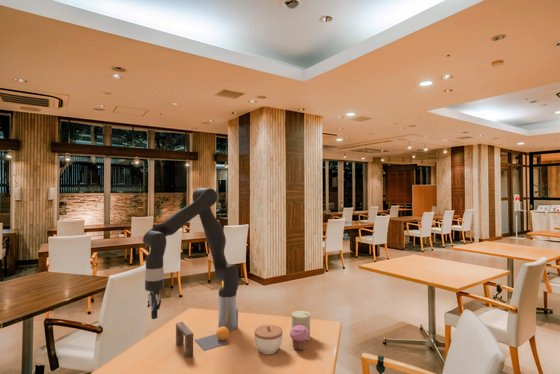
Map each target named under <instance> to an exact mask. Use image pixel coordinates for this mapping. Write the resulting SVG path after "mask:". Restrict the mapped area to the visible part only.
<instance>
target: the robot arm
mask: <svg viewBox="0 0 560 374" xmlns="http://www.w3.org/2000/svg"><path fill="white" fill-rule="evenodd" d="M217 201H218V193H217V191H216V190H215V189H213V188H211V187H199V188H196V189H194V191H193V193H192V203H190V204H189V205H187V206H185V207H183V208H181V209H179V210H178V211H176V212H174V213H173V214H172V215H170V216H169V217H168V218H166V219H165V220H164V221H163V222H161V223H160V224H157V225H155V226H154V227H152V228H150V229H149V230H148V231H146V233H145V234H144V235H143V237H142V242H143V244H144V245H145V246H146V247H149V249H150V251H149V253H148V254H147V255H146V256H145V270H144V271H145V272H144V290H145V291H147V292H149V293H147V297H148V302H149V303H148V304H149V307H150V311H151V312H150V314H151V315H150V317H151V319H152V320H156V319H158V310H160V308H161V307H160V306H161V305H162V300H161V299H160V298H161V293H160V291H162V290H163V289H164V287H165V284H164V283H165V282H164V281H165V279H164V278H165V273H164V272H165V270H164V256H165V252H166V247H167V238H166V237H168V236H172V235H174V234H176V232H178V231H179V230H180V229H181V228H182V227H184V226H185V225H187V223H188V222H190V221H191V220H193V219H194V218H195V217H197V216H198V215H199V219H200V222H201V225H202V228H203V231H204V235H205V238H206V242H207V245H208V247H209V250H210V254H211V258H212V262H213V267H214V268H213V269H214V272H215V276H216V278H217V279H218V280H220V281H223V287H221V288H219V289H218V323H217V324H218V329H219V328H220V327H226V328H227V329H228V330H229V332H231V331H234V330H235V329H238V328H239V309H238V308H237V296H238V295H237V292H238V289H239V278H240V276H239V275H240V274H239V273H240V272H239V267H237V265H236V264H231V263H228V261H227V258H226V255H225V248H226V247H225V246H226V245H227V244H226V241H227V238H226V234H225V231H224V228H223V225H222V224H221V223H220V221H219V220H218V219H217V218H216V216H215V214H214V213H213V211H212V208H211V207H212V206H214V205H215V204H216V203H217Z"/></svg>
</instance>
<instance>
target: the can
mask: <svg viewBox="0 0 560 374" xmlns="http://www.w3.org/2000/svg"><path fill="white" fill-rule="evenodd" d="M297 325H302V326H305V327H306V328H307V329H308V331H309V337H308V338H307V339H309V338H310V339H311V313H310V312H309V311H306V310H294V311H292V312H291V329H292V328H293V327H295V326H297ZM310 339H309V340H310Z"/></svg>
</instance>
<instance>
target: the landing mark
mask: <svg viewBox="0 0 560 374" xmlns="http://www.w3.org/2000/svg"><path fill="white" fill-rule="evenodd" d="M194 341H195V342H196V343H197V345H198V346H199V347H200V348H201V349H202V350H203V351H209V350H211V349H214V348H217V347H221V346H225V345H228V344H229V342H228V341H227V339H225V340H219V339H218V338H217V335H216V334H211V335H208V336H204V337H201V338H196V339H195V340H194Z"/></svg>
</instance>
